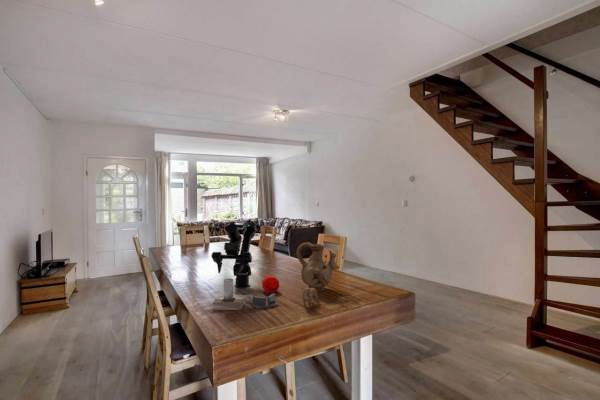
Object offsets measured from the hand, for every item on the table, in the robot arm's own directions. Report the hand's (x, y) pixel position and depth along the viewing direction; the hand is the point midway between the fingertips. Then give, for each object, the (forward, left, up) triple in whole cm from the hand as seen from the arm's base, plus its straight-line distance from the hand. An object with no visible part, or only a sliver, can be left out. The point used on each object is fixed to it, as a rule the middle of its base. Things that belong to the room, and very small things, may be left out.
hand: (228, 273), depth 142 cm
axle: (+4, +6, -13) cm, 15 cm away
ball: (-24, +2, -13) cm, 27 cm away
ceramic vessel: (-43, +18, -13) cm, 48 cm away
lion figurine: (-22, +31, -13) cm, 41 cm away
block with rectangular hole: (+4, +6, -13) cm, 15 cm away
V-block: (-9, +15, -13) cm, 22 cm away
